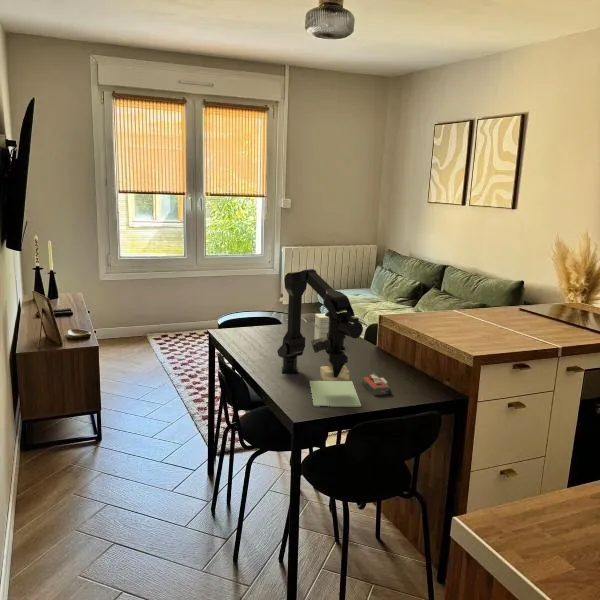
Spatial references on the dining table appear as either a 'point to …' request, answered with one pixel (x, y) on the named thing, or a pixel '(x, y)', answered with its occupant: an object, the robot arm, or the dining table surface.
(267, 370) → the dining table surface
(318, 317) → the supplement box
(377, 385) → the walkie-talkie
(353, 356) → the dining table surface
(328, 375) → the brass block
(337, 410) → the dining table surface
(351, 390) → the rubber mat
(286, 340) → the robot arm
